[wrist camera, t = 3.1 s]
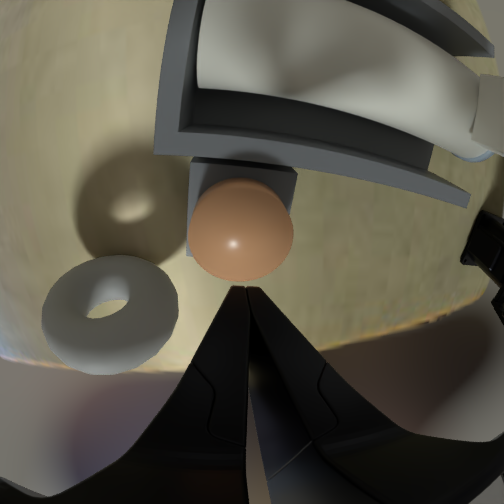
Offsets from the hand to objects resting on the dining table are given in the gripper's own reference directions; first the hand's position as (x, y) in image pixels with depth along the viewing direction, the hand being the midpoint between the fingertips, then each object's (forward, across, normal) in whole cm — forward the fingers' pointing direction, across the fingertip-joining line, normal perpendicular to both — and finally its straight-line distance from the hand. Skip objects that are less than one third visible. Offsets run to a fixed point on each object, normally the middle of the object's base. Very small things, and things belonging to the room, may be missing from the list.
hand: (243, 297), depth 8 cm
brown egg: (+9, 0, 0) cm, 9 cm away
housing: (+11, -5, -6) cm, 14 cm away
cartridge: (+10, -6, -9) cm, 15 cm away
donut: (+11, +8, +7) cm, 15 cm away
